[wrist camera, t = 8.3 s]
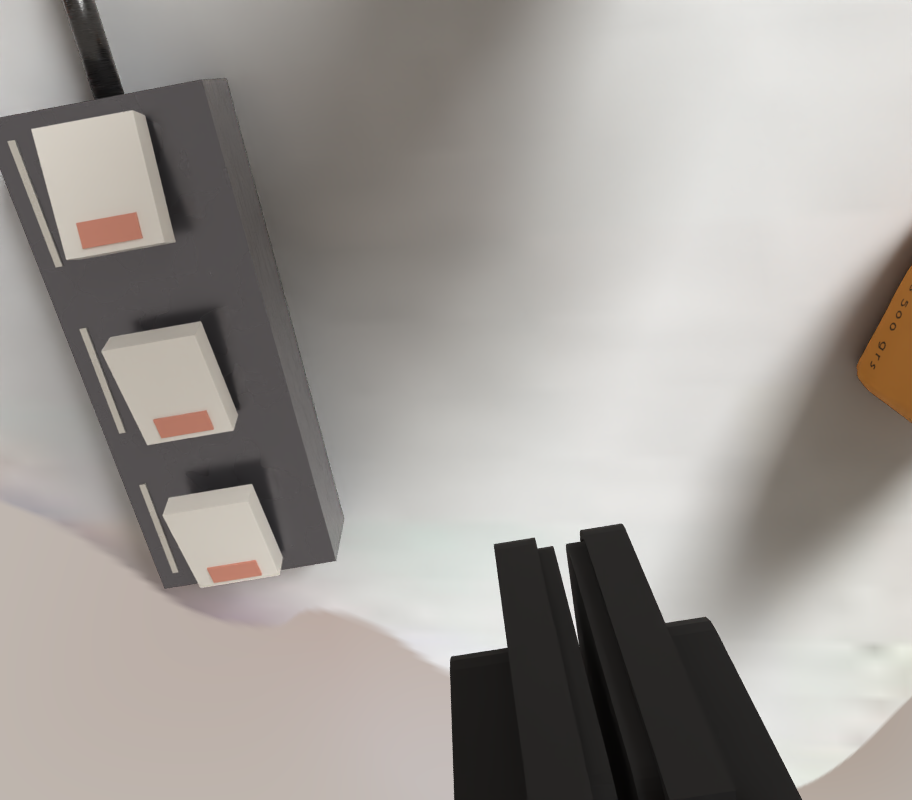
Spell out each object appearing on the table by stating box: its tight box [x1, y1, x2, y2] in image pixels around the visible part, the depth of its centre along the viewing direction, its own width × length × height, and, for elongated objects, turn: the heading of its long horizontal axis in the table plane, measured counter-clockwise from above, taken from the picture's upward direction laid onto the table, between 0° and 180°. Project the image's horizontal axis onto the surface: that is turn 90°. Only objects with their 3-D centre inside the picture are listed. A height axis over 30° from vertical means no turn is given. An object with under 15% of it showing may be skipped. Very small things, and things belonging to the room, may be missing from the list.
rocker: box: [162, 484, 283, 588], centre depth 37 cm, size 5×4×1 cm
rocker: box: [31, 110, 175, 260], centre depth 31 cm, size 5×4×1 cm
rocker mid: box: [101, 321, 238, 445], centre depth 34 cm, size 5×4×1 cm
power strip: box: [0, 0, 344, 589], centre depth 35 cm, size 29×9×5 cm, turn 10°
